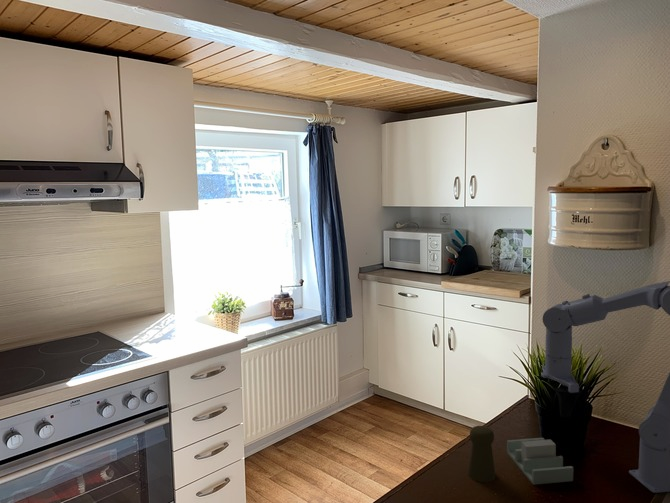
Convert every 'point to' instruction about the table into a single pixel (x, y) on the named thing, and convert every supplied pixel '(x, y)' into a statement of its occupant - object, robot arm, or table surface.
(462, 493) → the table surface
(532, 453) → the white rectangular block
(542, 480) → the rack
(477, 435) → the dark green pepper mill
